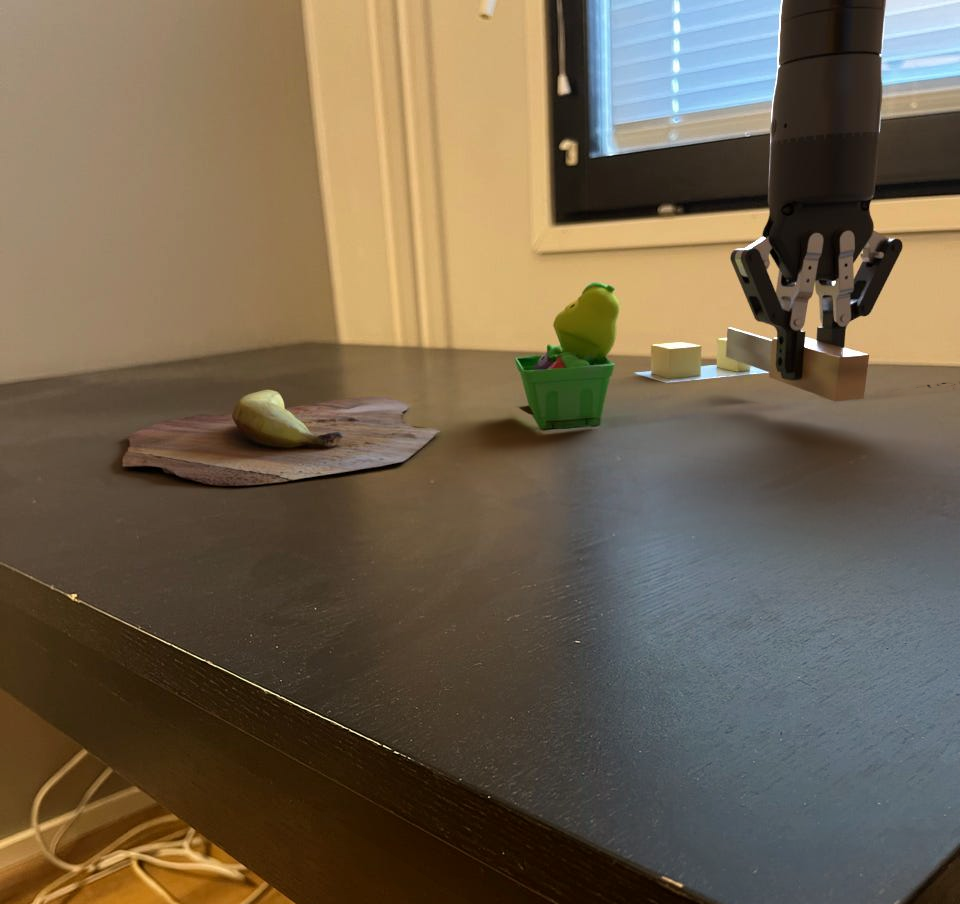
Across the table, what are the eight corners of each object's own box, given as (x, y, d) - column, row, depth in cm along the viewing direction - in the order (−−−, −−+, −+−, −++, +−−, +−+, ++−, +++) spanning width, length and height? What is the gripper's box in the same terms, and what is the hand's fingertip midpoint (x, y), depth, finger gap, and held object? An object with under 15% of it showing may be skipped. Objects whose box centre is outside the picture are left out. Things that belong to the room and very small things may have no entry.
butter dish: (742, 369, 110) (742, 362, 110) (783, 378, 102) (783, 370, 101) (633, 380, 107) (632, 372, 107) (665, 390, 99) (665, 382, 99)
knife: (864, 398, 73) (869, 354, 72) (835, 401, 73) (839, 357, 71) (739, 355, 91) (741, 319, 89) (715, 357, 90) (717, 321, 89)
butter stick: (681, 370, 106) (681, 341, 105) (701, 375, 102) (701, 345, 101) (650, 373, 106) (650, 344, 104) (669, 378, 101) (669, 348, 100)
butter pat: (728, 365, 107) (729, 337, 106) (750, 370, 103) (751, 341, 102) (716, 367, 107) (716, 338, 106) (737, 372, 103) (738, 342, 101)
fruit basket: (515, 412, 92) (510, 285, 88) (609, 405, 93) (608, 278, 88) (525, 433, 82) (519, 290, 78) (631, 426, 82) (631, 283, 78)
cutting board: (129, 427, 99) (122, 388, 97) (395, 399, 105) (392, 362, 104) (110, 504, 67) (98, 448, 66) (490, 457, 74) (487, 405, 72)
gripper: (761, 131, 67) (750, 391, 73) (942, 123, 69) (916, 375, 76) (712, 143, 74) (706, 380, 80) (879, 135, 76) (860, 365, 83)
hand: (808, 376), depth 78 cm, fingers closed on knife, 2 cm apart
